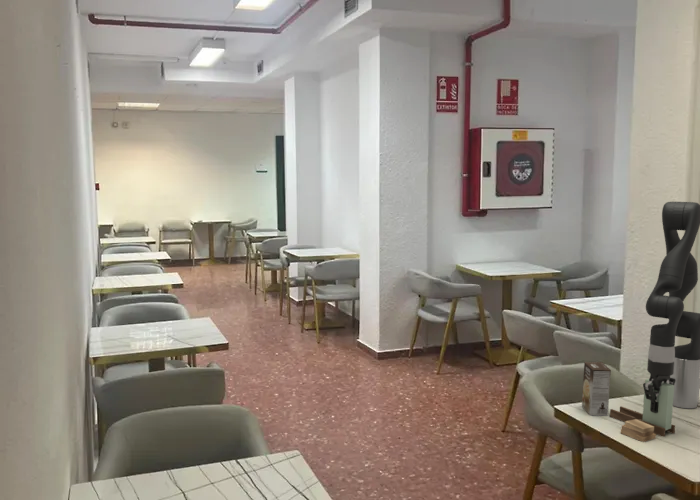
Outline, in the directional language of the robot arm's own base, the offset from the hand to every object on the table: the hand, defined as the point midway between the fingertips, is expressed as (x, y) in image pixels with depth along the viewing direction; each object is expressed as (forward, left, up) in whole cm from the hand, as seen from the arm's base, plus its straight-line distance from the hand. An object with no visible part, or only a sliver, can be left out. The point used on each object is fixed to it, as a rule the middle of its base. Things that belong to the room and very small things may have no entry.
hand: (657, 410), depth 211 cm
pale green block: (0, 0, -5) cm, 5 cm away
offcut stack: (+9, 0, -6) cm, 11 cm away
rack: (0, -5, -6) cm, 8 cm away
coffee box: (+3, -21, -7) cm, 22 cm away
